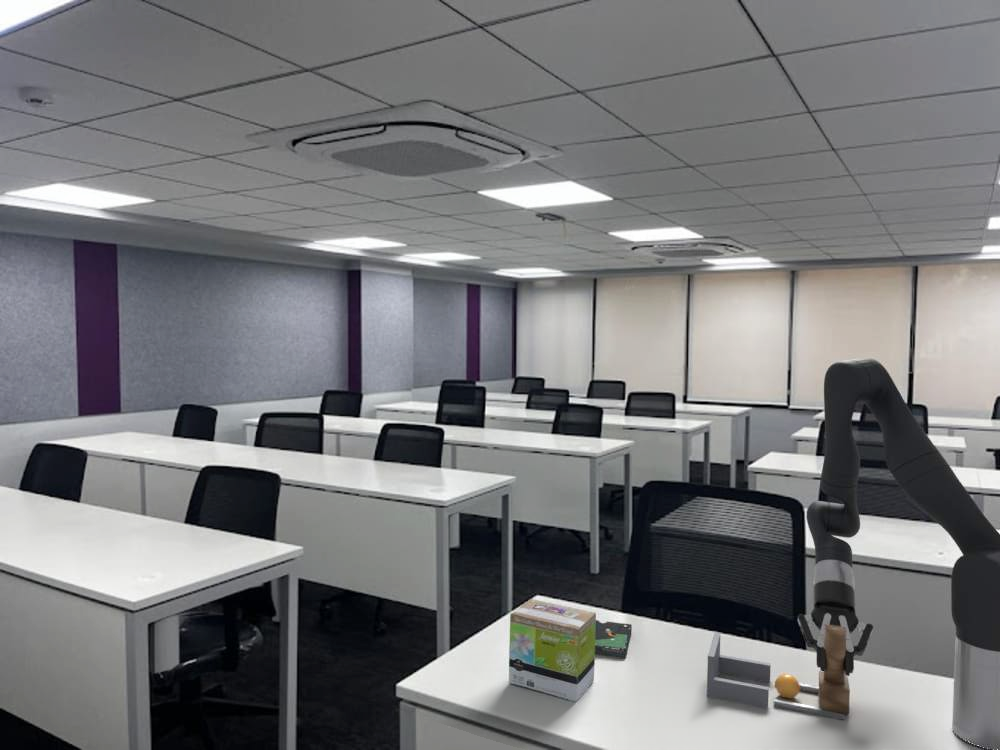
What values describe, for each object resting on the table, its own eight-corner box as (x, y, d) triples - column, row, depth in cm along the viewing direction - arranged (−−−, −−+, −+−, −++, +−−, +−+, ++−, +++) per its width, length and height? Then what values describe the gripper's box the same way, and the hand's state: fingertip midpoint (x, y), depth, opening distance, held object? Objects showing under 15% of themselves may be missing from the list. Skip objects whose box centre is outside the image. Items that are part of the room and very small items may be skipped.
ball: (791, 691, 140) (792, 669, 140) (803, 702, 136) (804, 679, 135) (770, 692, 139) (771, 670, 139) (782, 703, 135) (783, 680, 135)
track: (840, 695, 138) (840, 690, 138) (843, 720, 129) (844, 714, 129) (775, 683, 143) (775, 678, 143) (773, 706, 134) (773, 701, 134)
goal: (770, 680, 144) (771, 641, 144) (767, 708, 133) (769, 666, 133) (713, 669, 149) (714, 632, 148) (706, 696, 137) (707, 655, 137)
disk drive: (588, 630, 170) (579, 655, 156) (588, 619, 170) (579, 642, 156) (631, 635, 168) (626, 661, 153) (631, 623, 168) (627, 648, 153)
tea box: (507, 685, 141) (508, 612, 140) (528, 665, 149) (529, 597, 149) (577, 704, 134) (578, 627, 133) (595, 682, 142) (597, 610, 142)
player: (846, 699, 136) (849, 625, 136) (848, 714, 131) (851, 636, 130) (818, 694, 138) (820, 620, 137) (819, 708, 132) (821, 631, 132)
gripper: (796, 574, 143) (794, 656, 132) (875, 584, 138) (879, 671, 127) (795, 591, 148) (794, 672, 137) (871, 602, 143) (875, 687, 132)
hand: (835, 671), depth 132 cm, fingers closed on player, 3 cm apart
